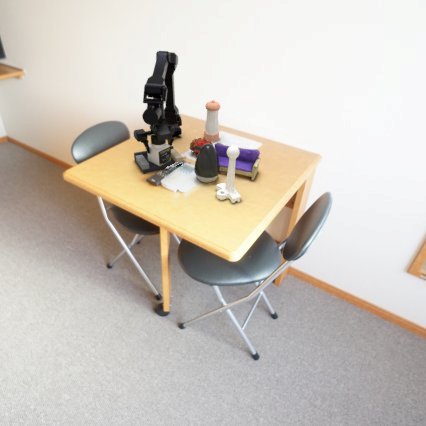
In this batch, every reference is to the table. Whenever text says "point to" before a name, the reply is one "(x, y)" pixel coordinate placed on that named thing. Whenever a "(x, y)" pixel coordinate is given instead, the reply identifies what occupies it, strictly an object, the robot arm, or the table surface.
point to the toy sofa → (239, 160)
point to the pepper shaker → (212, 121)
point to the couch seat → (148, 166)
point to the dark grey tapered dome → (207, 163)
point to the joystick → (229, 178)
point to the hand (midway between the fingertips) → (159, 151)
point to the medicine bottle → (159, 151)
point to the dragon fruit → (198, 144)
